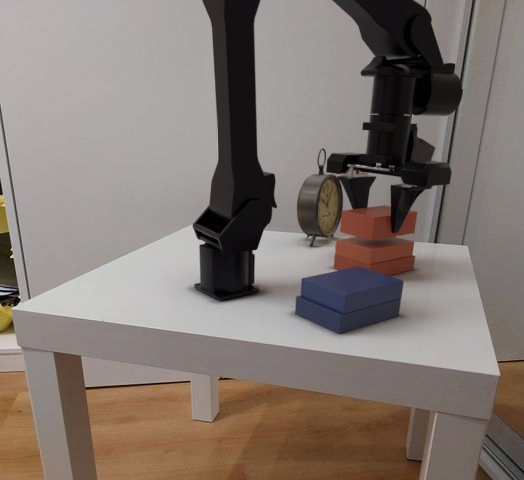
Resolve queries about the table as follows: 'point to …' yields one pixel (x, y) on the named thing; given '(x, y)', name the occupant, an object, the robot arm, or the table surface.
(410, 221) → the rust book
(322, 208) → the alarm clock
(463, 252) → the table surface
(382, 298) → the navy stack
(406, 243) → the rust stack
